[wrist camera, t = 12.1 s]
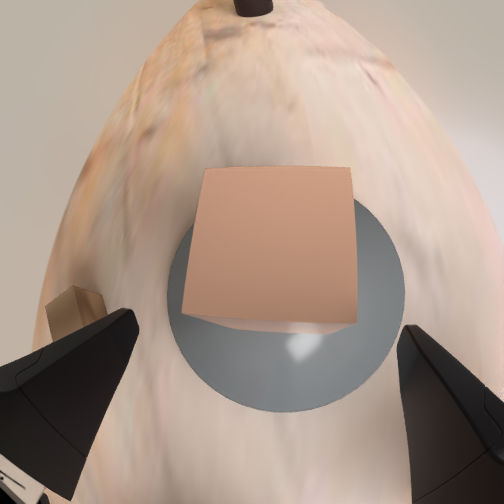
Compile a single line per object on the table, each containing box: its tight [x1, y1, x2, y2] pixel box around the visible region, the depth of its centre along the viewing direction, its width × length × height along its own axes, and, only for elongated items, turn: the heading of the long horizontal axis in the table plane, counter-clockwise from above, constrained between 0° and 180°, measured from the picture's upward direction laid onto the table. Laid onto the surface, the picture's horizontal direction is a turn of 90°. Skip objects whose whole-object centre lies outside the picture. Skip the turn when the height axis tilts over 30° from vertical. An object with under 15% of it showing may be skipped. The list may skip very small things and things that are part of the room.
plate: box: [167, 199, 405, 412], centre depth 19 cm, size 17×17×1 cm
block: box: [45, 286, 108, 342], centre depth 20 cm, size 4×4×4 cm
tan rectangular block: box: [181, 166, 358, 334], centre depth 14 cm, size 6×6×9 cm
